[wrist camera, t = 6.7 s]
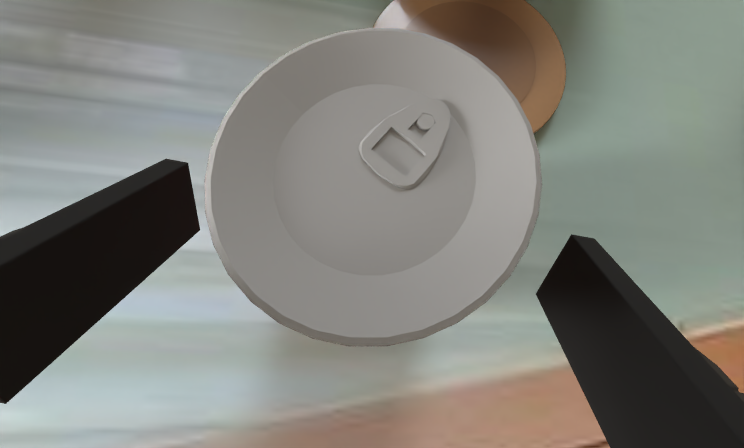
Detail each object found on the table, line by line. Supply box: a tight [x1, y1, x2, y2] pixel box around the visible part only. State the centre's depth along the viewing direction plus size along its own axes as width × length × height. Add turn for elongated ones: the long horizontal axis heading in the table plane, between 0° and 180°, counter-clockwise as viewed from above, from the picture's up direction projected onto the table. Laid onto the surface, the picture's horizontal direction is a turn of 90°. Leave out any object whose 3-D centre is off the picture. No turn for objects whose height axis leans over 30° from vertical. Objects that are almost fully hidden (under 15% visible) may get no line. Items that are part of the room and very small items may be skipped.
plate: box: [373, 0, 566, 134], centre depth 20 cm, size 13×13×1 cm
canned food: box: [204, 28, 542, 346], centre depth 12 cm, size 8×8×11 cm
